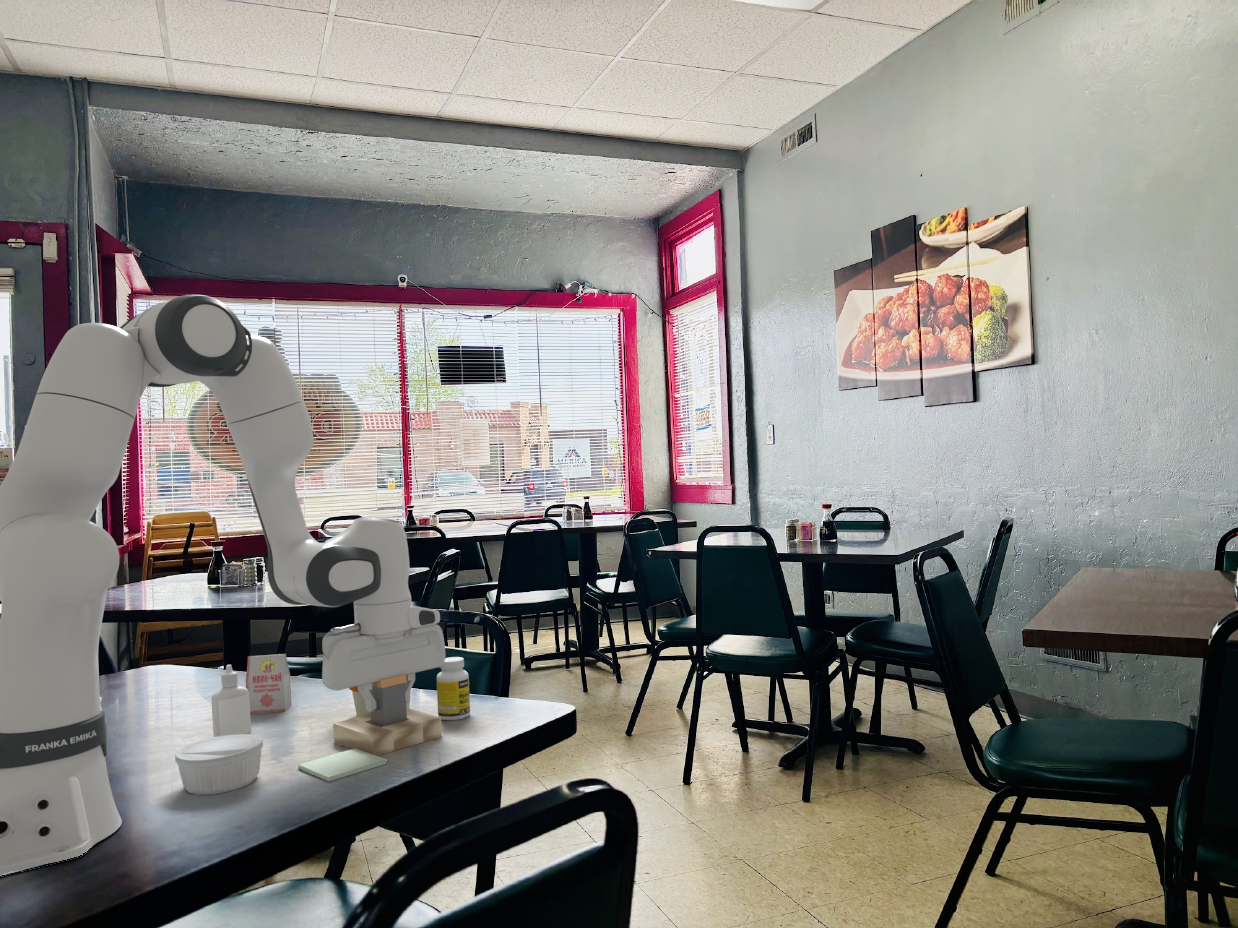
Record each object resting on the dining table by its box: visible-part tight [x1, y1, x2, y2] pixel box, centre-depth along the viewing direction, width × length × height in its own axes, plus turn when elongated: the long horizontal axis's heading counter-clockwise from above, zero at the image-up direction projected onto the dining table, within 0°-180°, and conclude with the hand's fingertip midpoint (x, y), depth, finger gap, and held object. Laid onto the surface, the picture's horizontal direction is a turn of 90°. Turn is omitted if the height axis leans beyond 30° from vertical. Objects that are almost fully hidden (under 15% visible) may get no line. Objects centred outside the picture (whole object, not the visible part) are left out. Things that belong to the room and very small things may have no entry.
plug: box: [369, 674, 407, 727], centre depth 141 cm, size 4×4×9 cm
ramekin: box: [174, 734, 264, 795], centre depth 125 cm, size 11×11×5 cm
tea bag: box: [245, 653, 293, 715], centre depth 164 cm, size 4×7×10 cm, turn 93°
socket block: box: [332, 707, 443, 757], centre depth 141 cm, size 12×12×3 cm
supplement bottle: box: [436, 656, 471, 721], centre depth 152 cm, size 5×5×10 cm
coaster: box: [297, 748, 388, 782], centre depth 129 cm, size 9×9×1 cm
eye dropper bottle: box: [211, 664, 252, 738], centre depth 147 cm, size 4×6×12 cm
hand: (388, 706), depth 141 cm, fingers closed on plug, 4 cm apart
